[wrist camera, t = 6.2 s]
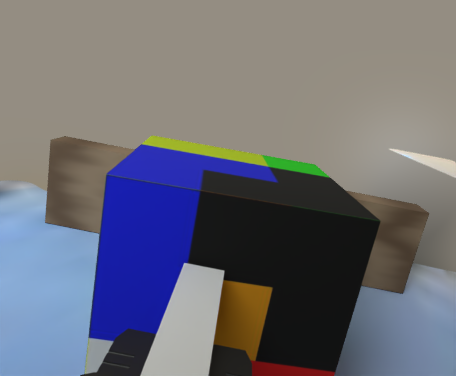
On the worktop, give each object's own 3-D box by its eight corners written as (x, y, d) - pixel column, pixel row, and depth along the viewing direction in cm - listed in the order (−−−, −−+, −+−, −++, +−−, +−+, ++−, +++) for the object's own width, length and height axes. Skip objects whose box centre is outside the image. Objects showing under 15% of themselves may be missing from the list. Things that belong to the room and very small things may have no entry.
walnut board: (392, 279, 34) (416, 204, 33) (402, 293, 32) (429, 213, 30) (59, 213, 35) (65, 136, 33) (45, 222, 33) (50, 139, 31)
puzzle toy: (81, 406, 16) (106, 174, 14) (131, 284, 26) (151, 135, 23) (315, 436, 17) (380, 220, 14) (279, 307, 27) (314, 164, 24)
